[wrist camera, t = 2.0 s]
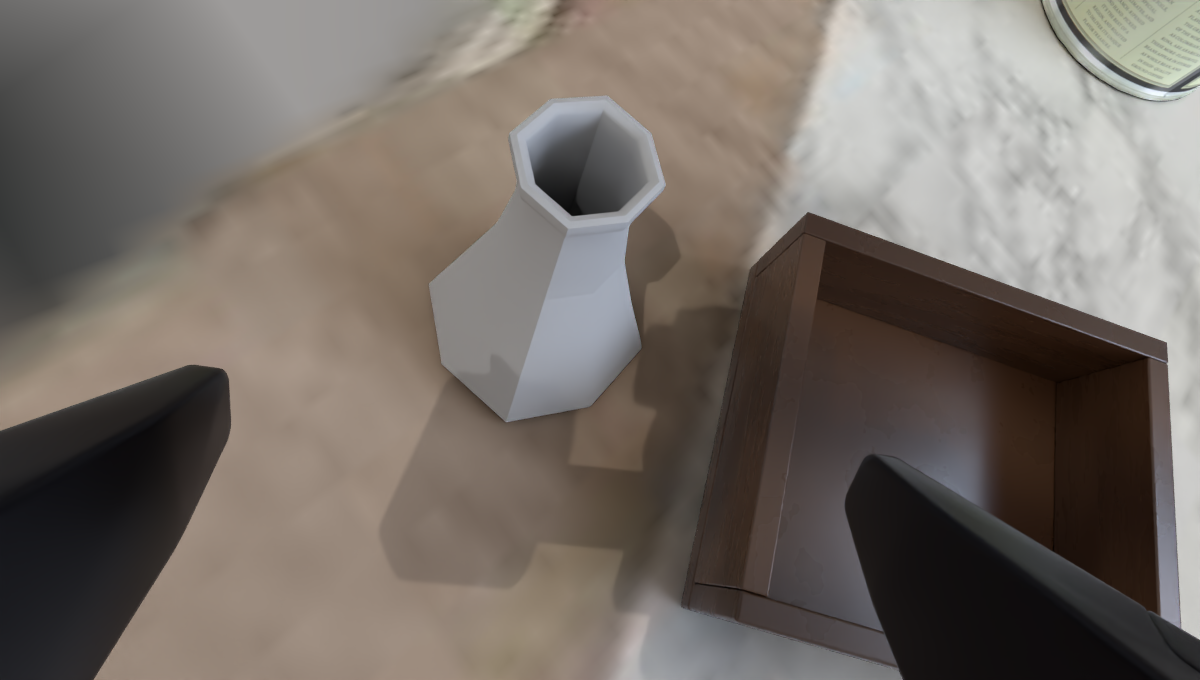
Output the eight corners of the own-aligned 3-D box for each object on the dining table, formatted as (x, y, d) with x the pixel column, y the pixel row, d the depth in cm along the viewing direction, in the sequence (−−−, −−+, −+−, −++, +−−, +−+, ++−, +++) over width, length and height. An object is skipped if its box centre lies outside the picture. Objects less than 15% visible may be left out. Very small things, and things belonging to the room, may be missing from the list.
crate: (1050, 714, 22) (1189, 753, 18) (679, 607, 21) (734, 621, 16) (1055, 375, 26) (1167, 342, 22) (749, 268, 25) (807, 211, 21)
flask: (392, 276, 22) (341, 76, 13) (572, 197, 24) (641, -20, 15) (494, 461, 21) (520, 390, 12) (673, 360, 23) (816, 234, 14)
